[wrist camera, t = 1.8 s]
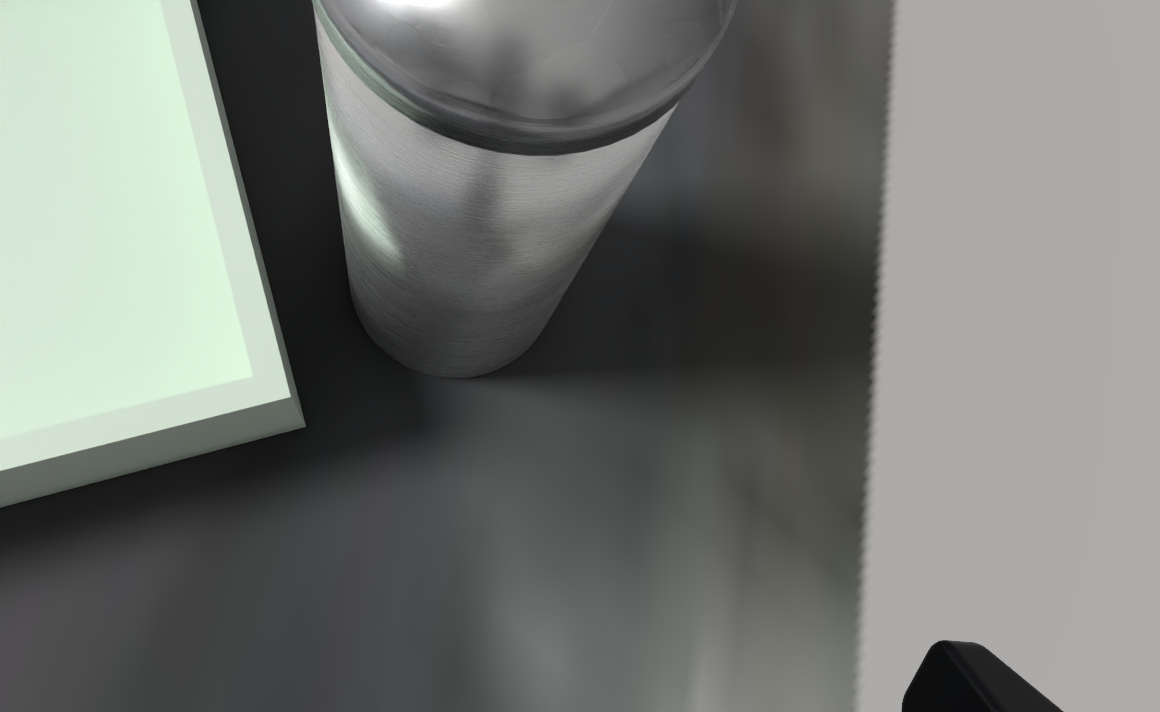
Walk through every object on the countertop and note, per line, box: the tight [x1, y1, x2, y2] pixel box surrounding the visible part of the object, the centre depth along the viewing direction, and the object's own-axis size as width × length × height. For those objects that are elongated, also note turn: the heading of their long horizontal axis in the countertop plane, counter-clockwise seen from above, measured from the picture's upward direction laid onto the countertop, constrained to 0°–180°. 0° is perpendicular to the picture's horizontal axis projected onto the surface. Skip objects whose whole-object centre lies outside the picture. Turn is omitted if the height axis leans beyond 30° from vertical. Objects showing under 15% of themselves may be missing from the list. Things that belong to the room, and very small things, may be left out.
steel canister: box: [312, 0, 737, 378], centre depth 17 cm, size 5×5×13 cm
